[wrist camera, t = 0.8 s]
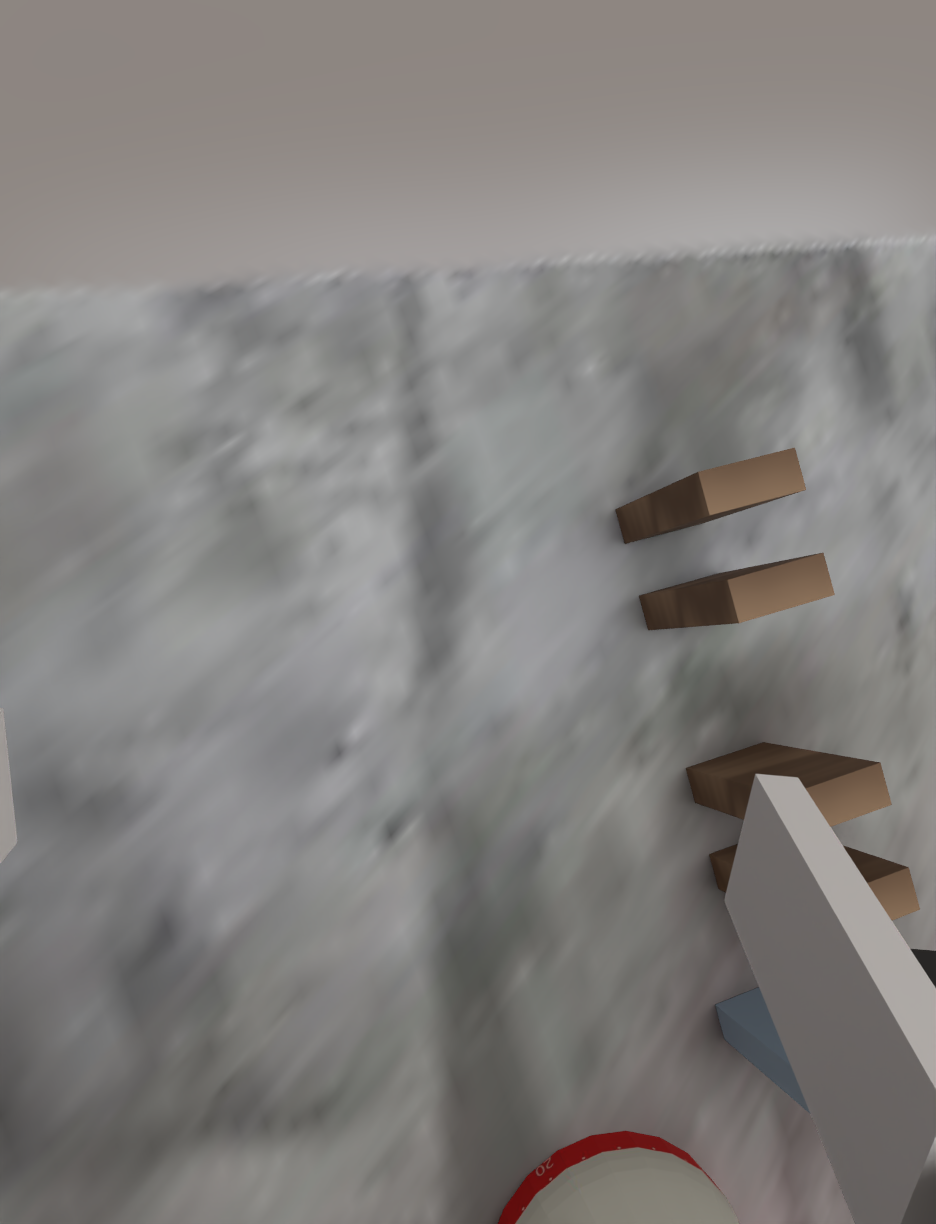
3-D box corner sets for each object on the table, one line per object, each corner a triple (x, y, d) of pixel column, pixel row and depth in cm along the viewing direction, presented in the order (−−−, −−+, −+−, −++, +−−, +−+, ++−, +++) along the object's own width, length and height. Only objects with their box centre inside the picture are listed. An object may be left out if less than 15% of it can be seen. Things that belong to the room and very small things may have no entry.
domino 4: (795, 860, 50) (920, 909, 40) (718, 888, 49) (826, 946, 39) (786, 826, 50) (908, 867, 40) (709, 854, 49) (815, 902, 39)
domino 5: (802, 1007, 49) (929, 1093, 40) (724, 1039, 48) (835, 1135, 39) (792, 973, 49) (918, 1051, 40) (715, 1004, 48) (823, 1092, 39)
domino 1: (704, 522, 50) (806, 489, 40) (624, 544, 49) (709, 515, 39) (694, 489, 50) (794, 447, 40) (615, 509, 49) (698, 472, 39)
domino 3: (772, 776, 50) (891, 804, 40) (695, 802, 49) (797, 838, 39) (763, 742, 50) (880, 762, 40) (685, 768, 49) (785, 795, 39)
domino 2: (727, 607, 50) (834, 594, 40) (648, 630, 49) (739, 623, 39) (717, 573, 50) (823, 552, 40) (638, 595, 49) (727, 580, 39)
